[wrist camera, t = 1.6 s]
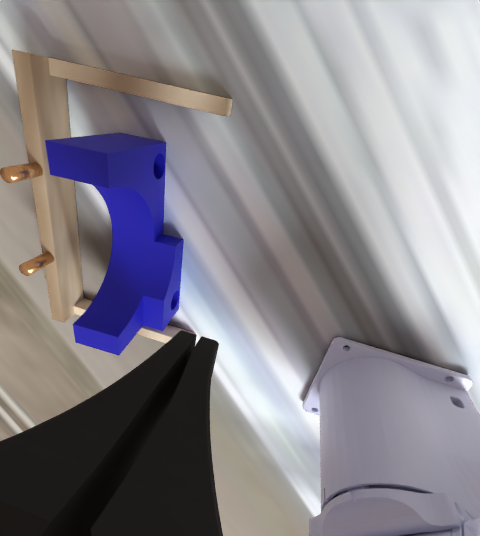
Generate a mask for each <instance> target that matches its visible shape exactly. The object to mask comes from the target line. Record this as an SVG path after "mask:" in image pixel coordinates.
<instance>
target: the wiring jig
mask: <svg viewBox="0 0 480 536" xmlns="http://www.w3.org/2000/svg"><path fill="white" fill-rule="evenodd" d="M12 55H13V61H14V68H15V75H16V81H17V88H18V95H19V101H20V108H21V114H22V121H23V128H24V134H25V141H26V148H27V154H28V161H29V163H27V164H22V165H16V166H10V167H5V168H1V170H0V175H1V177H2V179H3V180H4V181H5V182H7V183H13V182H17V181H21V180H26V179H30V178H31V181H32V187H33V194H34V200H35V207H36V214H37V220H38V227H39V234H40V240H41V247H42V253H43V254H41V255H39V256H37V257H35V258H33V259H31V260H29V261H27V262H25V263H23V264H21V265H20V266H19V269H20V271H21V273H22V274H24V275H26V276H29V275H31V274H32V273H34V272H36V271H38V270H39V269H41V268H43V267H45V273H46V280H47V287H48V293H49V300H50V306H51V313H52V319H54V320H57V321H60V322H63V323H64V322H65V321H66V320H68V319H69V318H70V317H71V316H72V315H74V314H76V315H80V316H82V315H83V313H84V312H85V311H86V310H87V308H88V307H89V306H90V304H91V303H92V302H93V301H91V300H88V299H85V298H84V296H83V284H82V272H81V259H80V247H79V234H78V222H77V209H76V197H75V184H74V180H71V179H66V178H62V177H58V176H53V175H50V170H49V164H48V157H47V151H46V144H45V140H53V139H63V138H71V134H70V122H69V110H68V97H67V85H66V79H68V80H73V81H77V82H81V83H85V84H90V85H94V86H98V87H102V88H107V89H111V90H115V91H119V92H124V93H128V94H132V95H136V96H141V97H145V98H149V99H153V100H158V101H162V102H166V103H170V104H175V105H179V106H183V107H187V108H192V109H196V110H200V111H204V112H209V113H213V114H217V115H221V116H230V115H231V109H232V102H233V99H228V98H224V97H220V96H215V95H211V94H206V93H202V92H198V91H193V90H189V89H185V88H180V87H176V86H172V85H167V84H163V83H158V82H154V81H150V80H145V79H141V78H137V77H132V76H128V75H123V74H119V73H115V72H110V71H106V70H102V69H97V68H93V67H89V66H84V65H80V64H75V63H71V62H67V61H62V60H58V59H54V58H49V57H44V56H40V55H35V54H30V53H25V52H21V51H16V50H12ZM181 330H183V329H180V328H177V327H174V326H171V325H167V326H166V327H165V329H164V330H163V331H160V330H157V329H153V328H150V327H146V326H142V328H141V329H140V330H139V331H138V332H137V334H139V335H142V336H145V337H148V338H151V339H154V340H157V341H161V342H164V343H167V342H168V341H169V340H170V339H172V338H173V337H174V336H175V335H176V334H177V333H178V332H179V331H181ZM183 331H186V330H183ZM186 332H190V331H186ZM190 333H193V332H190ZM193 334H195V333H193Z"/></svg>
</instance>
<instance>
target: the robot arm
mask: <svg viewBox="0 0 480 536" xmlns="http://www.w3.org/2000/svg"><path fill="white" fill-rule="evenodd" d="M195 341H196V334H193V333H190V332H186V331H183V330H181V331H179V332H178V333H177V334H176V335H175V336H174V337H173V338H172V339H170V340H169V341H168V342H167V343H166V344H165V345H164V346H163V347H161V348H160V349H159V350H158V351H157V352H155V353H154V354H153V355H152V356H150V357H149V358H148V359H147V360H145V361H144V362H143V363H142V364H140V365H139V366H138V367H136V368H135V369H133V370H132V371H131V372H129V373H128V374H126V375H125V376H124V377H122V378H121V379H119V380H118V381H116V382H115V383H113V384H112V385H110V386H109V387H107V388H106V389H104V390H102V391H101V392H99V393H97V394H96V395H94V396H92V397H91V398H89V399H87V400H85V401H84V402H82V403H80V404H78V405H77V406H75V407H73V408H71V409H69V410H67V411H65V412H64V413H62V414H60V415H58V416H56V417H53V418H51V419H49V420H47V421H45V422H43V423H41V424H39V425H37V426H34V427H32V428H30V429H28V430H26V431H24V432H22V433H19V434H17V435H15V436H12V437H10V438H7V439H5V440H2V441H0V536H223V533H222V528H221V522H220V516H219V510H218V504H217V497H216V490H215V482H214V473H213V464H212V454H211V441H210V385H211V377H212V373H213V368H214V364H215V359H216V355H217V350H218V345H219V344H218V342H217V341H215V340H212V339H209V338H205V337H201V338H200V340H199V341H198V343H197V344H196V346H195ZM345 345H348V346H349V347H344V346H345ZM449 376H450V377H449ZM446 377H448V378H446ZM472 385H473V381H472V379H471V378H470V377H469V376H468V375H465V374H461V373H458V372H455V371H452V370H448V369H445V368H442V367H438V366H435V365H432V364H428V363H425V362H422V361H418V360H415V359H412V358H408V357H405V356H402V355H398V354H395V353H392V352H388V351H385V350H382V349H378V348H375V347H372V346H368V345H365V344H362V343H358V342H355V341H352V340H348V339H345V338H342V337H336V338H334V339H333V340H332V342H331V344H330V346H329V348H328V351H327V353H326V355H325V357H324V359H323V361H322V363H321V365H320V368H319V370H318V372H317V374H316V376H315V378H314V380H313V382H312V384H311V387H310V389H309V391H308V393H307V395H306V397H305V399H304V401H303V409H304V410H305V411H308V412H311V413H314V414H317V415H320V466H321V514H320V515H318V516H316V517H312V518H310V519H309V536H480V415H479V413H478V411H477V410H476V408H475V406H474V404H473V402H472V400H471V399H470V397H469V395H468V393H467V391H468V390H469V389H470V387H471V386H472Z"/></svg>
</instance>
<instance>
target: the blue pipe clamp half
mask: <svg viewBox="0 0 480 536" xmlns="http://www.w3.org/2000/svg"><path fill="white" fill-rule="evenodd" d="M45 144H46V151H47V157H48V164H49V170H50V175H53V176H58V177H62V178H66V179H71V180H75V181H79V182H84V183H88V184H92V185H93V186H95V187H96V189H97V190H98V191H99V192H100V194H101V195H102V197H103V198H104V200H105V202H106V204H107V207H108V210H109V213H110V217H111V222H112V232H113V242H112V252H111V258H110V262H109V266H108V270H107V273H106V276H105V278H104V281H103V283H102V285H101V287H100V289H99V291H98V293H97V295H96V297H95V298H94V300H93V302H92V303H91V304H90V306H89V307H88V308H87V310H86V311H85V312H84V313H83V315H82V316H81V317H80V318H79V319H78V320H77V321H76V322H75V323H74V324H73V328H74V335H75V341H76V343H80V344H83V345H86V346H90V347H93V348H96V349H99V350H103V351H106V352H109V353H113V354H116V355H120V353H121V352H122V351H123V350H124V348H125V347H126V346H127V345H128V344H129V342H130V341H131V340H132V339H133V337H134V336H135V335H136V334H137V332H138V331H139V330H140V329H141V328H142V326H146V327H150V328H153V329H157V330H160V331H163V330H164V329H165V327H166V326H167V325H168V323H169V322H170V320H171V319H172V317H173V316H174V315H175V313H176V312H177V310H178V309H179V296H180V282H181V267H182V253H183V239H180V238H176V237H172V236H168V235H163V221H164V190H165V159H166V142H162V141H157V140H152V139H147V138H143V137H138V136H133V135H128V134H123V133H114V134H104V135H93V136H83V137H73V138H63V139H53V140H45Z"/></svg>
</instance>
